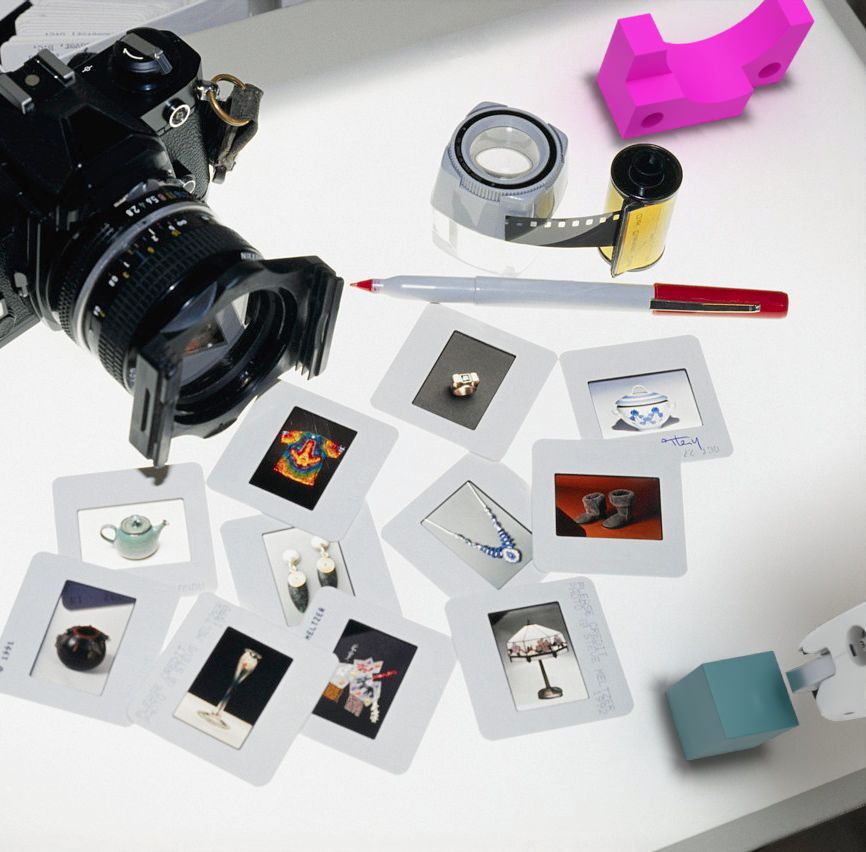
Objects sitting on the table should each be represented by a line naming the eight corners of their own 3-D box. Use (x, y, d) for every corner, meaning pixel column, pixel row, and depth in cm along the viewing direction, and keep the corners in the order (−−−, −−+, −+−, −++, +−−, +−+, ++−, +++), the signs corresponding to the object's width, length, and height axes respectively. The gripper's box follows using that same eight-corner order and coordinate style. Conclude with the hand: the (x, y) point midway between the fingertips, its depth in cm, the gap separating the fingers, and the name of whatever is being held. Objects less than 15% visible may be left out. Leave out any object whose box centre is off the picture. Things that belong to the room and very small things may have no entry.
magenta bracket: (621, 142, 100) (646, 81, 93) (594, 83, 102) (618, 18, 95) (790, 108, 101) (828, 45, 95) (760, 50, 104) (795, -15, 97)
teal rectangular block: (728, 679, 82) (773, 650, 74) (751, 748, 80) (800, 725, 72) (662, 692, 81) (701, 663, 74) (684, 761, 79) (726, 739, 72)
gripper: (871, 710, 59) (736, 772, 75) (1156, 655, 60) (962, 728, 77) (815, 563, 62) (698, 654, 78) (1087, 514, 63) (915, 613, 80)
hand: (829, 690), depth 77 cm, fingers closed
